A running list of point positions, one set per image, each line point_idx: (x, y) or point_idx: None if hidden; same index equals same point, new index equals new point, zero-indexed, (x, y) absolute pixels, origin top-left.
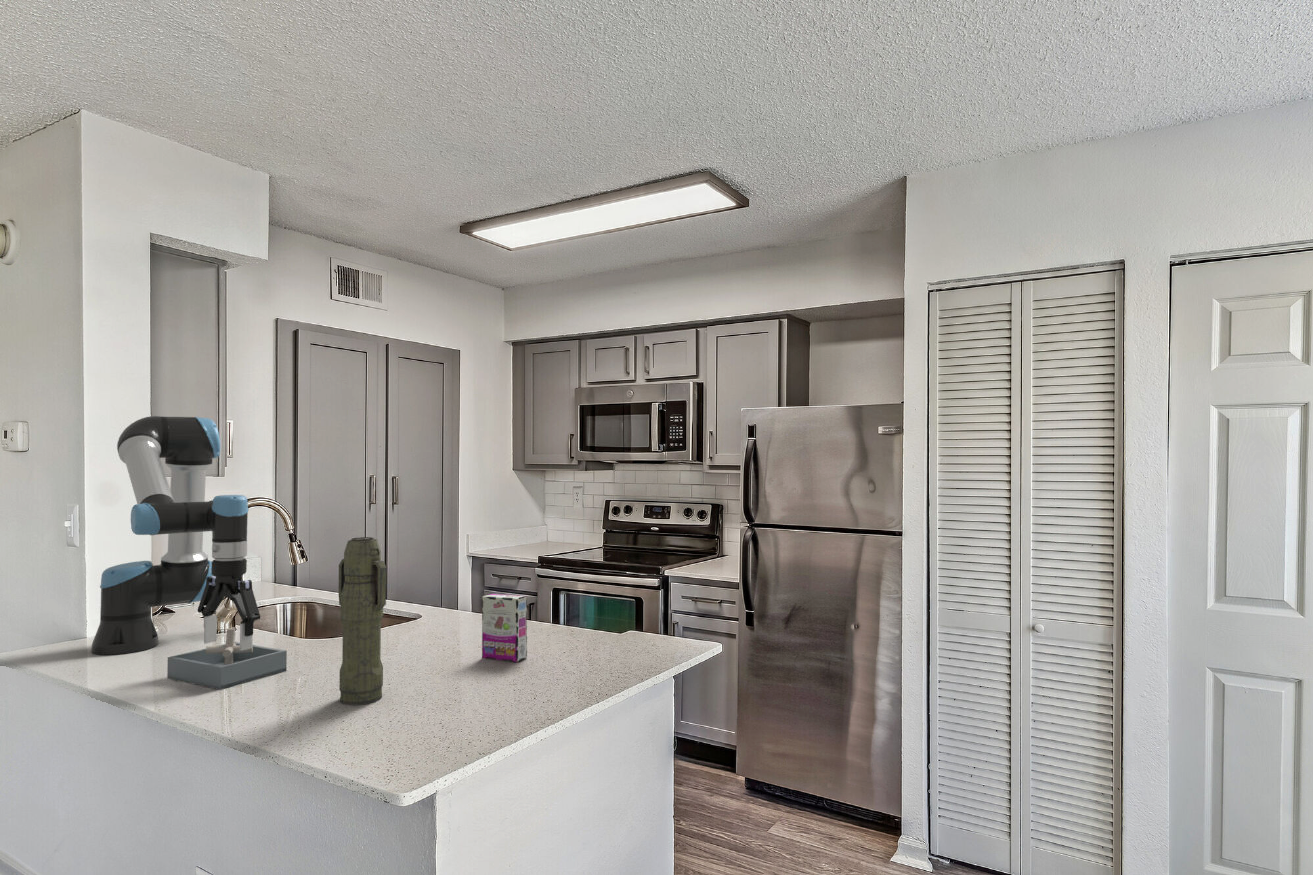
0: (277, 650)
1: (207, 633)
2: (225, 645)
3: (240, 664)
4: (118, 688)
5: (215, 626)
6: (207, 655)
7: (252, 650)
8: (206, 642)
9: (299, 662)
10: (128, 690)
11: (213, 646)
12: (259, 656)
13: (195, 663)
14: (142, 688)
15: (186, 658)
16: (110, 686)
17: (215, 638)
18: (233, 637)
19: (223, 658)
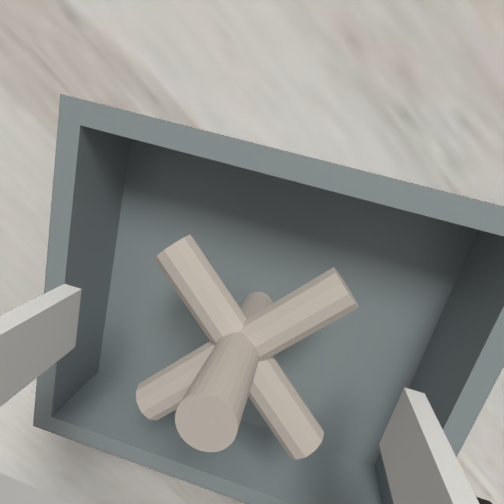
0: (502, 234)
1: (31, 371)
2: (77, 176)
3: None
4: (52, 471)
5: (3, 340)
6: (86, 265)
7: (342, 279)
8: (72, 347)
9: (478, 35)
10: (96, 486)
11: (169, 397)
12: (470, 377)
13: (220, 489)
14: (116, 469)
15: (69, 358)
16: (14, 456)
17: (69, 300)
18: (248, 387)
19: (115, 183)
